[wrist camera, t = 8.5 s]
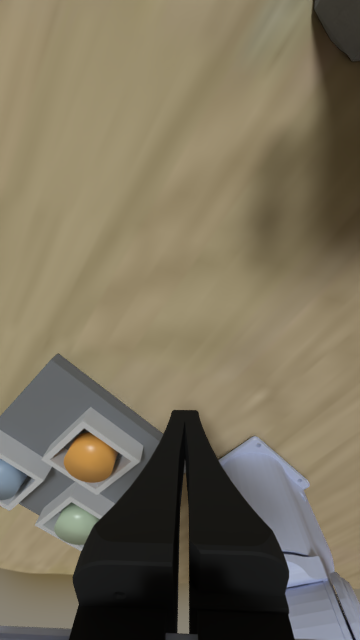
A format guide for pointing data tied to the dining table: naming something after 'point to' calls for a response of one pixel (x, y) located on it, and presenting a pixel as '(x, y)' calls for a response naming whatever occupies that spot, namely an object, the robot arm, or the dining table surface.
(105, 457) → the button orange
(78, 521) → the button sage
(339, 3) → the coffeepot
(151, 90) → the dining table surface
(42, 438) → the control board
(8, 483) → the button blue
